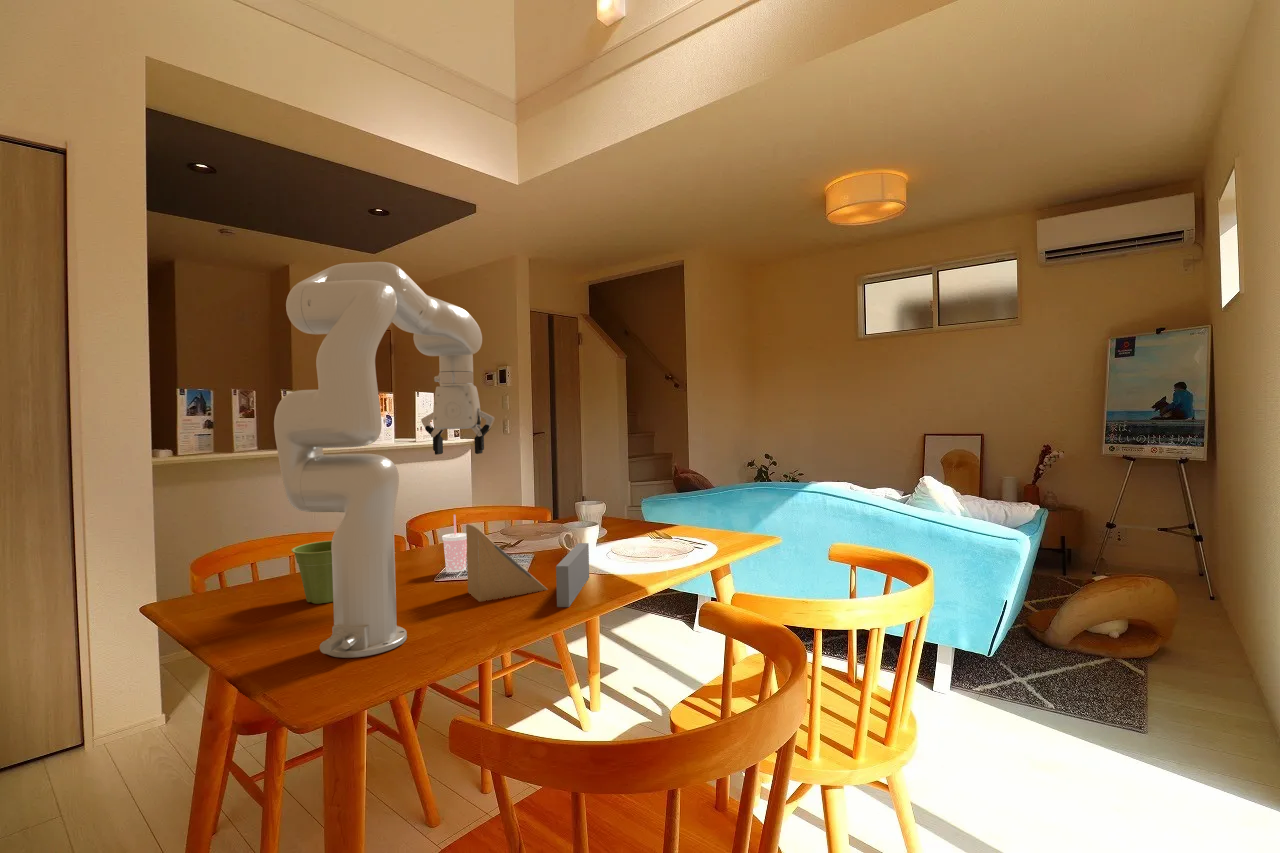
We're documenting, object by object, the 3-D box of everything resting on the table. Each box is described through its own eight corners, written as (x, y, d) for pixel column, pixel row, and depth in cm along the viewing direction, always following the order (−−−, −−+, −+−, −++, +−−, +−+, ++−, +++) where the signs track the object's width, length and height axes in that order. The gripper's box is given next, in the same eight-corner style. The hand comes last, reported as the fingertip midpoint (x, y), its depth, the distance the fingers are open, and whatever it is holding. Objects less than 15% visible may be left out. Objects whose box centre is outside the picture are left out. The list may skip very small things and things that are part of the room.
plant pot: (287, 599, 131) (285, 546, 131) (346, 588, 139) (345, 538, 139) (301, 612, 122) (299, 554, 122) (364, 599, 130) (362, 545, 130)
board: (569, 607, 122) (568, 566, 121) (557, 607, 122) (556, 566, 122) (589, 577, 143) (588, 543, 143) (579, 577, 144) (578, 543, 144)
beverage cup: (441, 570, 153) (439, 514, 153) (466, 567, 156) (465, 511, 156) (444, 576, 148) (443, 517, 147) (471, 573, 150) (469, 515, 150)
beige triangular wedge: (550, 590, 134) (548, 521, 134) (479, 602, 126) (477, 529, 126) (535, 582, 142) (533, 516, 141) (467, 593, 134) (465, 523, 134)
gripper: (413, 380, 142) (415, 455, 143) (487, 378, 141) (489, 454, 141) (428, 382, 150) (430, 453, 150) (498, 380, 148) (500, 452, 148)
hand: (458, 453), depth 146 cm, fingers open, 9 cm apart
